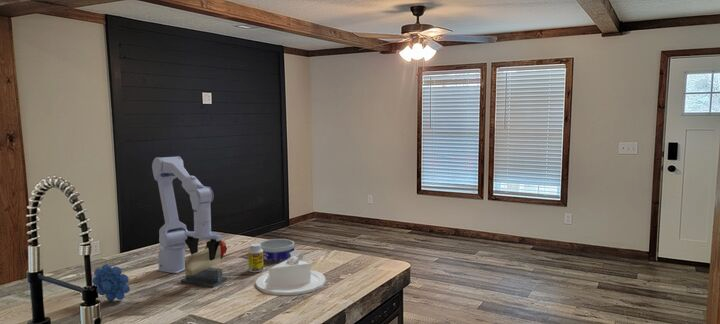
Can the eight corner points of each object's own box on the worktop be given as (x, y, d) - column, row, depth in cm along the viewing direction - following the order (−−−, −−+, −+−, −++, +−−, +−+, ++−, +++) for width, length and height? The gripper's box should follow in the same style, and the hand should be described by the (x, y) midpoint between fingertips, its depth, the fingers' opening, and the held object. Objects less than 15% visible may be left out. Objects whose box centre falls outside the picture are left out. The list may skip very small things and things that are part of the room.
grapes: (86, 305, 147) (84, 268, 146) (97, 297, 154) (95, 262, 152) (123, 305, 147) (122, 268, 146) (133, 297, 154) (131, 261, 153)
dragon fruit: (206, 266, 192) (221, 261, 204) (221, 254, 191) (236, 251, 202) (196, 248, 194) (212, 245, 205) (211, 237, 192) (227, 234, 204)
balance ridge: (180, 282, 168) (180, 269, 167) (195, 275, 175) (195, 262, 175) (213, 287, 163) (212, 273, 163) (227, 280, 171) (226, 266, 170)
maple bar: (185, 274, 162) (184, 257, 161) (214, 261, 177) (213, 245, 176) (192, 275, 161) (191, 258, 160) (220, 262, 176) (220, 246, 175)
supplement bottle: (251, 273, 178) (251, 247, 177) (246, 269, 182) (246, 244, 181) (265, 271, 181) (265, 245, 180) (260, 267, 185) (259, 242, 184)
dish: (297, 267, 186) (297, 239, 185) (339, 283, 168) (339, 252, 167) (242, 282, 169) (242, 252, 168) (283, 302, 151) (282, 268, 150)
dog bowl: (251, 261, 194) (251, 246, 194) (267, 250, 209) (266, 237, 209) (286, 263, 191) (286, 249, 190) (299, 253, 206) (299, 239, 205)
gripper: (178, 222, 166) (179, 259, 167) (212, 225, 161) (213, 263, 162) (191, 218, 173) (192, 254, 174) (224, 221, 168) (225, 258, 169)
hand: (203, 258), depth 169 cm, fingers open, 7 cm apart
